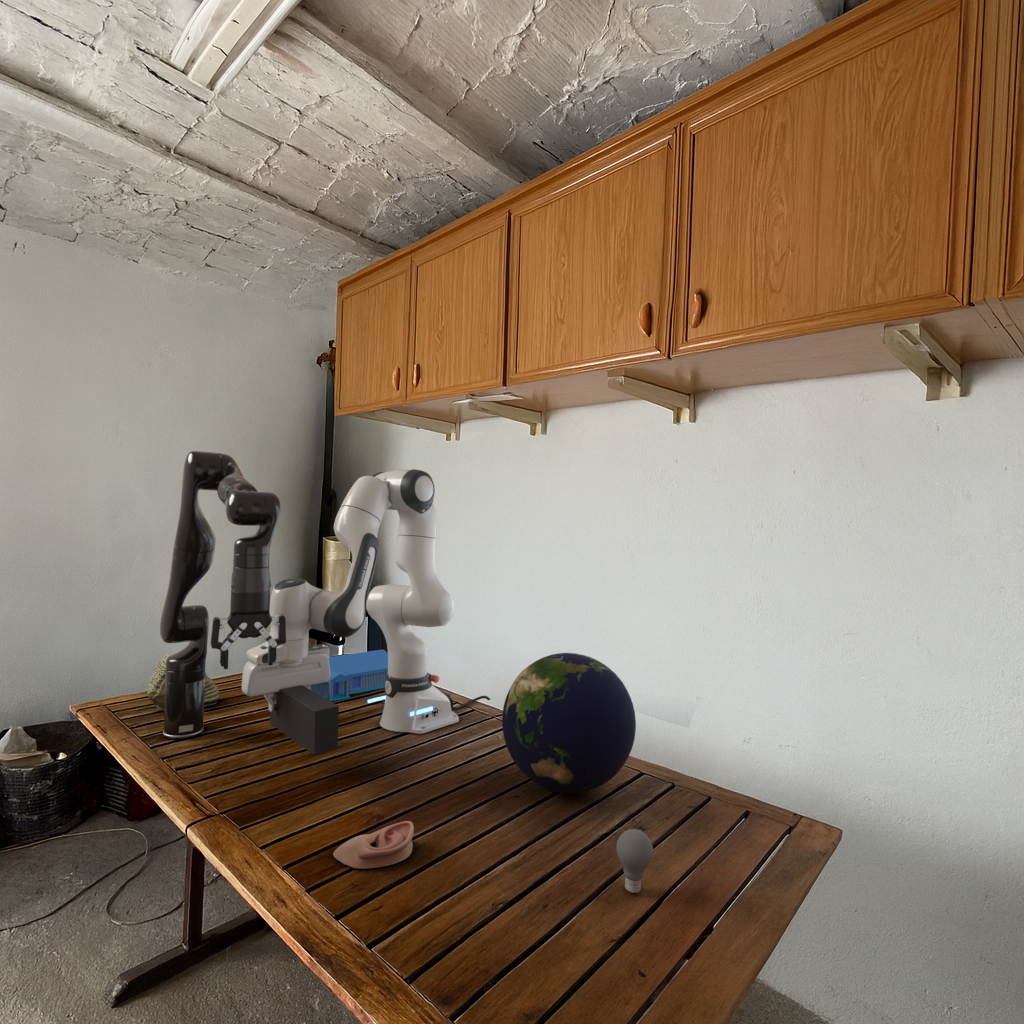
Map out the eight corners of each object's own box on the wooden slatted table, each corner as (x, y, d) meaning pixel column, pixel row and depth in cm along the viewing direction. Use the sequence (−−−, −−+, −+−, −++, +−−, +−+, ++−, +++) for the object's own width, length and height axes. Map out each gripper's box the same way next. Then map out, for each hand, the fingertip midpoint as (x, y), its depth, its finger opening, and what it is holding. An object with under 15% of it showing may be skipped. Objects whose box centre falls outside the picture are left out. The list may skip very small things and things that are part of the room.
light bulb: (610, 879, 108) (613, 822, 108) (644, 879, 109) (647, 822, 109) (619, 902, 102) (622, 840, 102) (655, 901, 103) (658, 840, 103)
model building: (289, 709, 186) (291, 675, 185) (258, 688, 204) (259, 657, 204) (403, 687, 212) (405, 657, 212) (366, 670, 230) (368, 643, 230)
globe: (477, 800, 135) (483, 660, 134) (527, 751, 163) (532, 634, 162) (615, 833, 124) (622, 681, 123) (643, 774, 151) (649, 649, 151)
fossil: (144, 707, 182) (145, 655, 182) (212, 696, 194) (213, 647, 194) (151, 716, 175) (153, 662, 175) (221, 703, 188) (223, 653, 188)
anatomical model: (325, 840, 109) (354, 809, 121) (324, 863, 109) (354, 830, 121) (397, 852, 107) (421, 819, 118) (396, 876, 107) (420, 840, 118)
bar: (337, 749, 136) (339, 705, 136) (314, 755, 132) (315, 711, 132) (291, 718, 153) (292, 679, 152) (269, 723, 149) (270, 683, 149)
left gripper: (284, 584, 137) (281, 659, 137) (211, 586, 130) (208, 664, 131) (290, 589, 131) (287, 668, 131) (213, 592, 124) (211, 674, 124)
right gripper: (323, 640, 157) (322, 695, 158) (239, 652, 143) (238, 712, 144) (335, 645, 153) (334, 702, 153) (250, 658, 139) (248, 720, 139)
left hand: (248, 666), depth 131 cm, fingers open, 8 cm apart
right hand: (287, 707), depth 148 cm, fingers closed on bar, 5 cm apart
